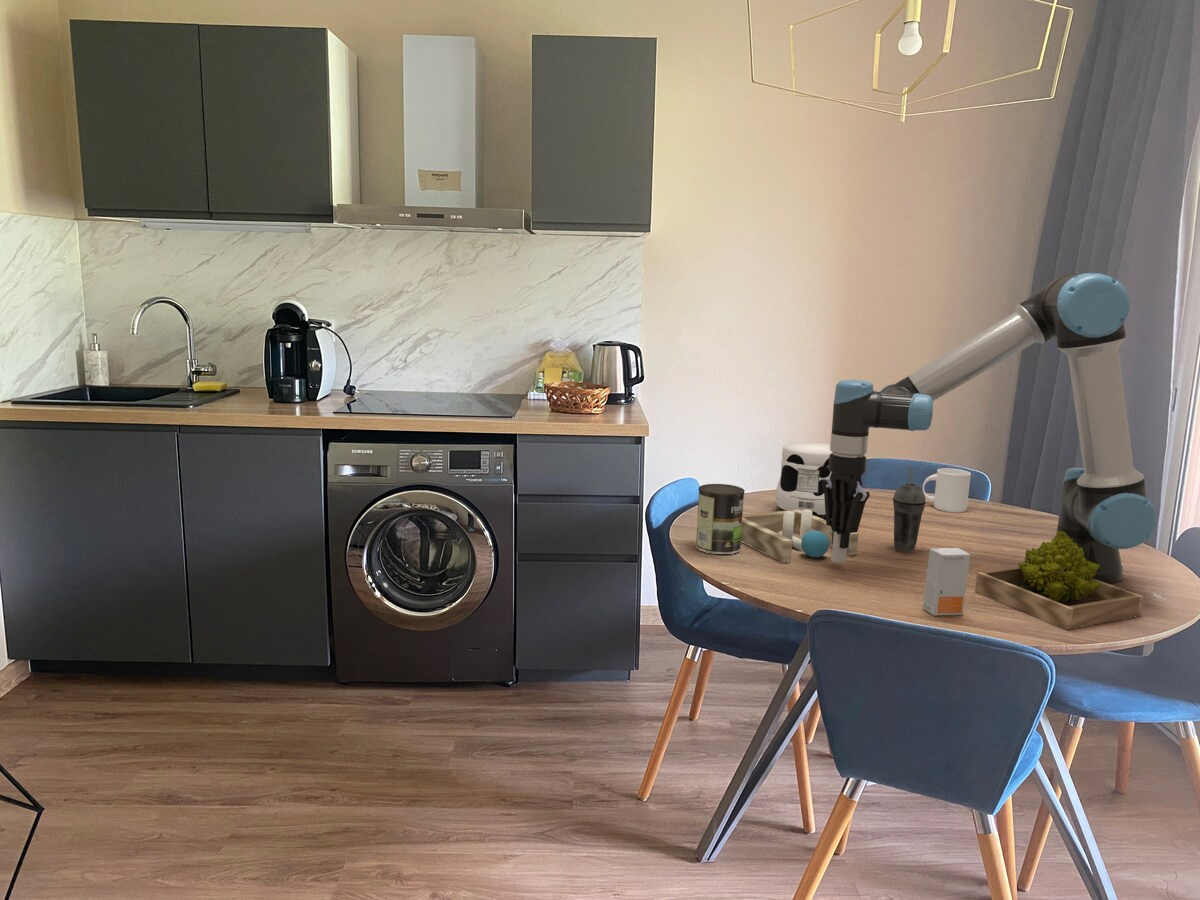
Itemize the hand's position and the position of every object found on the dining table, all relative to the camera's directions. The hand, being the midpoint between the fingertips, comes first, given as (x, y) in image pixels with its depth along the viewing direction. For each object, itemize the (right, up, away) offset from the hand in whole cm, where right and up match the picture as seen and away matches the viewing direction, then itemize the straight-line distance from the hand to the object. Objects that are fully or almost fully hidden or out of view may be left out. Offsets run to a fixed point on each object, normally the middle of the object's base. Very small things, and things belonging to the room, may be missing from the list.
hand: (838, 561), depth 188 cm
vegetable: (+39, -5, -15) cm, 42 cm away
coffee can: (-25, +1, +11) cm, 27 cm away
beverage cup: (+19, +1, +15) cm, 25 cm away
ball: (-4, +3, +6) cm, 8 cm away
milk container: (+4, +7, +45) cm, 46 cm away
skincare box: (+13, -7, -24) cm, 28 cm away
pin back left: (-9, +1, +13) cm, 16 cm away
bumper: (-7, +2, +16) cm, 17 cm away
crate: (+38, -6, -18) cm, 42 cm away
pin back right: (-4, +2, +15) cm, 16 cm away
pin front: (-5, +2, +11) cm, 12 cm away
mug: (+44, +7, +55) cm, 71 cm away
